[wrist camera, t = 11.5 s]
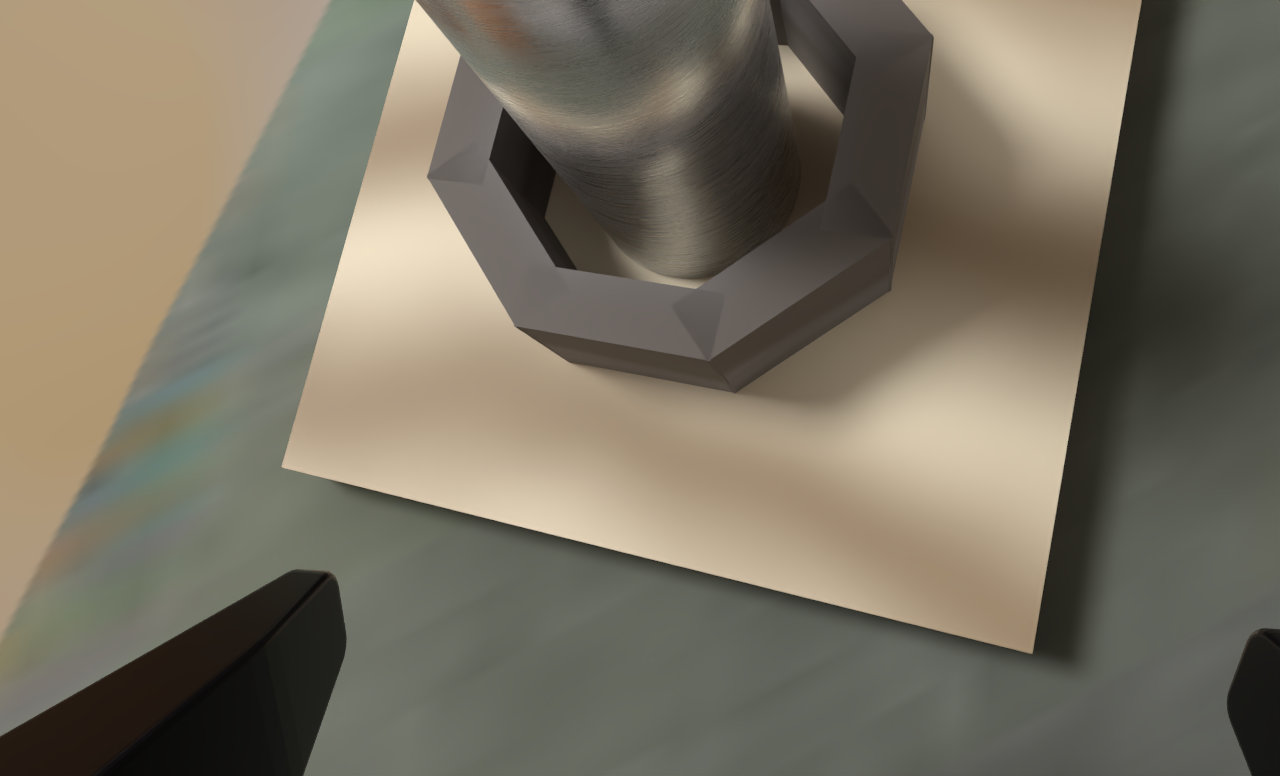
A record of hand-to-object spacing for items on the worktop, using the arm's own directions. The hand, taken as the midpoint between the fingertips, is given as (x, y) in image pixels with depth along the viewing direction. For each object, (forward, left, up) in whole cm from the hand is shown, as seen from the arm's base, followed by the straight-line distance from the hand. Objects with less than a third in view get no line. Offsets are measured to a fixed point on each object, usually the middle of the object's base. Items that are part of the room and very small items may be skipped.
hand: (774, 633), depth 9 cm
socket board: (+8, +4, -10) cm, 13 cm away
